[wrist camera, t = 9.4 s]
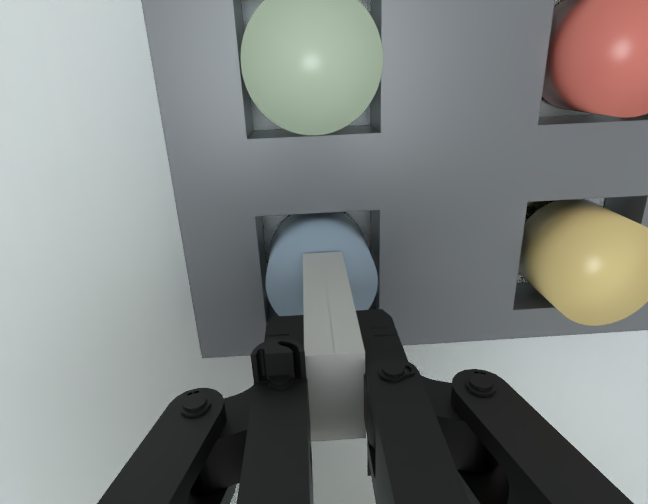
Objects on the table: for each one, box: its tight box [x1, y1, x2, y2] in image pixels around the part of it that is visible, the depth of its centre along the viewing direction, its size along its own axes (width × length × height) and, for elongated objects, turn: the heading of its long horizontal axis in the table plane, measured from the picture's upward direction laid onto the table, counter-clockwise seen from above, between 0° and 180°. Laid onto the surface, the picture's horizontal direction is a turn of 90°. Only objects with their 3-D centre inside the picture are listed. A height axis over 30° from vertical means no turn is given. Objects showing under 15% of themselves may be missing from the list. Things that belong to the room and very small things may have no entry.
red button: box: [542, 0, 648, 118], centre depth 16 cm, size 4×4×3 cm
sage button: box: [241, 0, 383, 135], centre depth 15 cm, size 4×4×3 cm
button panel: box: [141, 0, 648, 358], centre depth 19 cm, size 22×16×2 cm
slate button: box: [266, 212, 378, 316], centre depth 19 cm, size 4×4×3 cm
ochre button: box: [518, 199, 648, 326], centre depth 19 cm, size 4×4×3 cm
